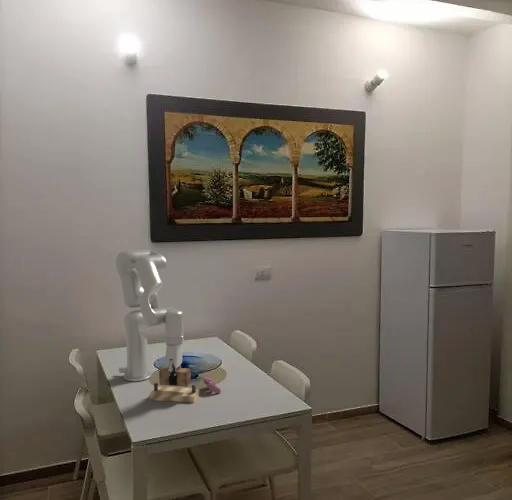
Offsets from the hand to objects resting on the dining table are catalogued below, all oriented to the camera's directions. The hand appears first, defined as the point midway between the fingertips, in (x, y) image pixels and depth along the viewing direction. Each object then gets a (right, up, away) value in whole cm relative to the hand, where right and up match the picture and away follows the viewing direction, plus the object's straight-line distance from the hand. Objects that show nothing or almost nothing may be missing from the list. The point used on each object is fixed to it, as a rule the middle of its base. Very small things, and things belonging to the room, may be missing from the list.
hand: (175, 381), depth 202 cm
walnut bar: (0, -1, 0) cm, 1 cm away
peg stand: (0, -7, +1) cm, 7 cm away
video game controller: (+15, -6, +8) cm, 18 cm away
